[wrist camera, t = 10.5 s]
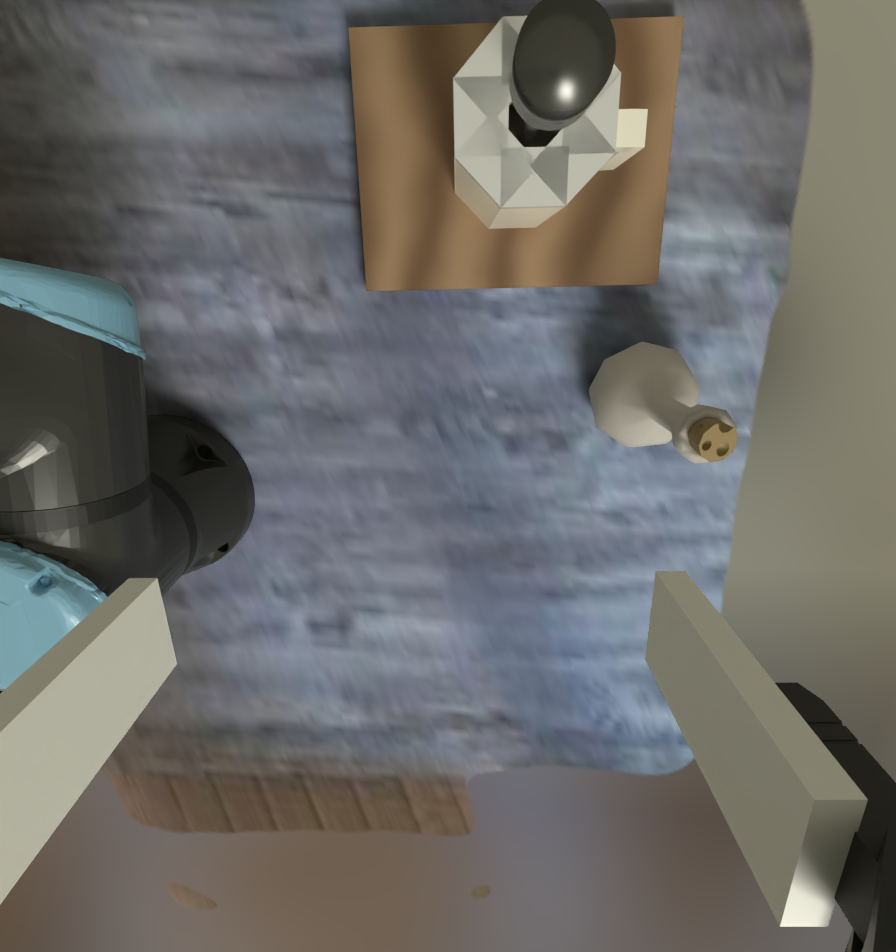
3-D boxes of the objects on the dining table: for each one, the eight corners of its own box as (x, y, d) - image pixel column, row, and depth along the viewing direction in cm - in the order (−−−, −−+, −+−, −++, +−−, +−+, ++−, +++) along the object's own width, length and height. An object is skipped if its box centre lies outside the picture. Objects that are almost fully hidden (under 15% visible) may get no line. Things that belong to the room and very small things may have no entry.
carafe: (455, 230, 43) (455, 209, 31) (453, 97, 40) (451, 17, 28) (601, 226, 43) (657, 203, 31) (610, 92, 40) (675, 10, 28)
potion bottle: (598, 329, 47) (677, 355, 30) (694, 353, 48) (824, 391, 31) (568, 424, 50) (624, 496, 33) (658, 446, 51) (760, 527, 34)
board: (369, 290, 47) (366, 291, 45) (352, 36, 41) (348, 27, 39) (651, 284, 46) (657, 284, 45) (675, 25, 40) (683, 16, 39)
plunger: (487, 191, 41) (514, 112, 22) (487, 130, 40) (516, -7, 21) (540, 189, 41) (612, 109, 22) (542, 128, 40) (619, -11, 21)
